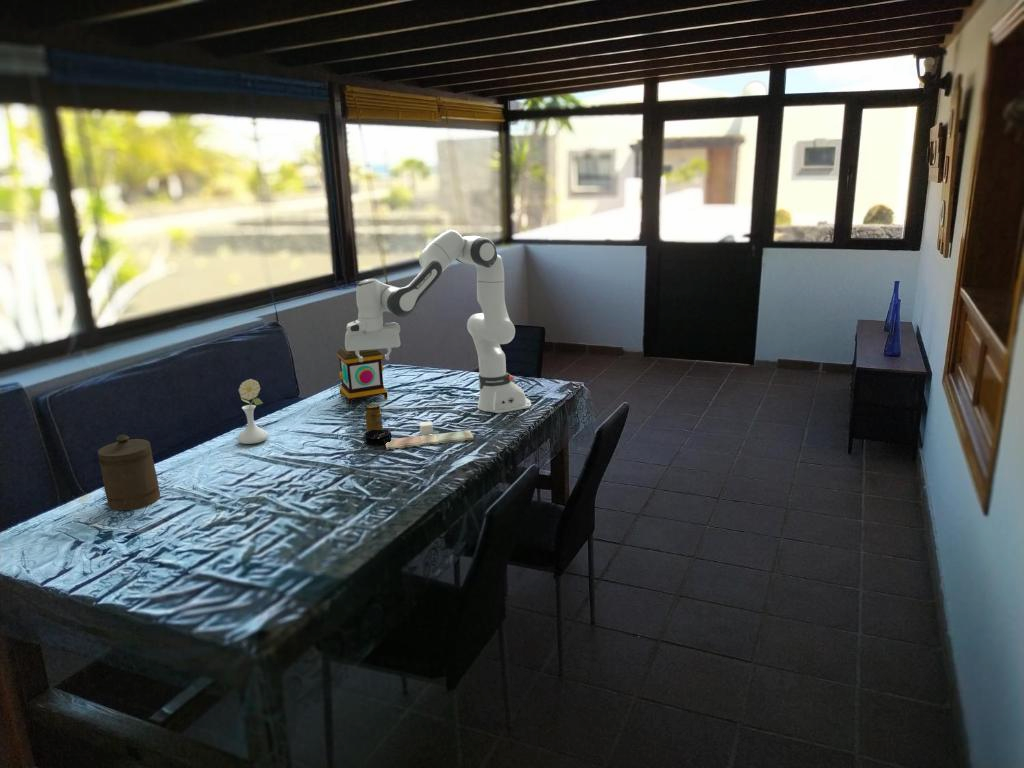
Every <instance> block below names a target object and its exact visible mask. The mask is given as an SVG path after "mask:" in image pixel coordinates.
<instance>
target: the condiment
mask: <svg viewBox="0 0 1024 768" xmlns="http://www.w3.org/2000/svg"><path fill="white" fill-rule="evenodd" d="M380 407H381V405H379V404H377V403H372V404H371V403H370V404H366V406H365V415H364V416H365V427H366V432H367V431H370V430H383V431H384V428H383V427H384V426H383V417H382V416H383V415H382V411H381V408H380ZM363 435H364V434H362V437H364V436H363Z"/></svg>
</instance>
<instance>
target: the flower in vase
mask: <svg viewBox="0 0 1024 768" xmlns="http://www.w3.org/2000/svg"><path fill="white" fill-rule="evenodd" d="M260 386H261V385H260V384H259V382H258V380H255V379H252V378H249V379H246V380H245V381H243V382H241V384H240V385H239V388H238V392H239V395H240V399H241V401H242V402H245V403H247V405H243V406H242V407H241V409H242V410H243V411H244V413H245V416H246V421H247V425H246V427H245V428H244V430H242V431H241V432H240V433H239V435H238V436H237V438H236V439H237V441H238V443H241V444H245V445H253V444H258V443H261V442H264V441H265V440H267V439H268V438H269V435H270V434H269V433H268V432H267V431H266V430H264V429H263V428H261V427H259V426H257V425H256V423H255V420H254V411H255V409H256V407H257V406H259V405H262V404H264V402H262V400H261V399H260V398H259V397H258V395H259V394H260V391H261V387H260ZM251 400H252V401H251ZM250 401H251V402H250ZM253 403H254V404H253Z"/></svg>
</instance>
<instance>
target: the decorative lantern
mask: <svg viewBox="0 0 1024 768" xmlns="http://www.w3.org/2000/svg"><path fill="white" fill-rule="evenodd" d="M358 354H359V355H360V356H361V357H362V356H363V362H359V358H358V356H357V355H356V353H355V351H347V350H346V349H345V346H344V347H340V348H339V349H338V350H337V351H336V355H337V357H338V359H339V367H340V371H339V372H338V378H339V379H340V380H341V385H340V387H339V393H340V396H341V397H345V398H346V399H347V403H348V406H352V405H353V404H352V403H353V400H356V399H363V398H370V397H374V396H375V397H376V396H383V399H384V400H388V391H387V390H386V388H385V386H384V375H383V372H384V364H383V363H382V358H383V356H384V354H383V352H381V351H380V349H371V350H359V353H358Z"/></svg>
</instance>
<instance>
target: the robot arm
mask: <svg viewBox="0 0 1024 768" xmlns="http://www.w3.org/2000/svg"><path fill="white" fill-rule="evenodd" d="M502 258H503V257H502V256H501V255H499V254H498V252H497V248H496V245H495V243H494V241H492V240H491V239H489V238H487V237H486V236H478V235H462V234H460V232H458V231H457V230H455V229H448V230H445V231H444V232H443V233H441V234H439V235H438V236H436V237H435V238H433V240H432V241H430V242H429V243H428V244H427V245H426V246H425V247H424V248H423V249H422V251H420V253H419V256H418V262H419V265H420V267H421V270H420V272H419V273H418V274H417V275H416V276H415V277H414V279H412V281H411V282H410V283H409V284H408V285H405V286H404V287H397V286H395V285H389V284H387V283H384V282H382V281H380V280H378V279H377V278H367V279H363V280H361V281H359V282H358V283H357V285H356V291H355V292H356V294H355V296H356V299H355V300H356V306H357V310H358V314H357V319H356V320H354V321H350V322H348V323H347V324H346V332H345V336H344V347H345V349H346V350H347V351H355V353H356V355H357V356H358V358H359V362H363V356H362V357H361V356H360V355H359V354H358V353H359V350H371V349H378V350H380V349H386V350H387V353H386V354H384V359H385V361H390V355H391V353H392V348H400V346H401V339H400V338H401V337H400V333H401V325H400V324H399V323H397V322H395V321H394V322H384V316H383V314H384V312H387V313H391V314H393V315H395V316H396V317H400V318H405V317H408V316H410V315H411V314H413V312H414V311H415V309H416V307H417V305H418V303H419V302H420V299H421V298H422V297H423V296H424V295H425V294H426V293H427V291H429V290H430V288H431V287H433V285H434V284H435V282H437V281H438V279H439V278H440V277H441V275H442V274H443V272H444V271H445V270H446V269H447V268H448V267H449V266H451V265H452V263H453V262H454V261H457V262H458V263H462V264H465V265H466V264H467V265H470V266H471V265H474V266H475V268H476V300H477V303H478V304H479V306H480V308H481V311H482V312H480V313H479V312H478V313H474V314H472V315H471V316H469V318H468V319H467V322H466V329H467V332H468V333H469V334H470V335H471V337H472V340H473V343H474V346H475V350H476V352H477V358H478V359H477V360H478V370H479V371H478V373H479V374H478V388H479V397H478V403H477V409H478V410H480V411H482V412H483V411H484V412H490V413H491V412H492V413H495V414H502V413H506V412H513V411H519V410H524V409H528V408H529V409H530V408H532V402H531V400H530V399H529V398H527V397H526V395H525V392H524V391H525V390H524V389H523V388H522V387H521V386H519V385H517V384H516V383H515V382H513V381H514V379H515V377H514V376H513V375H511V374H510V373H509V372H507V368H506V367H507V364H506V363H507V362H506V361H507V360H506V354H505V352H504V351H503V350H502V347H501V345H507V344H509V343H510V342H512V341H513V339H514V338H515V335H516V328H515V325H514V323H513V322H512V320H511V318H510V317H509V312H508V310H507V305H506V300H505V299H506V297H505V295H506V294H505V269H504V263H503V259H502Z"/></svg>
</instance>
